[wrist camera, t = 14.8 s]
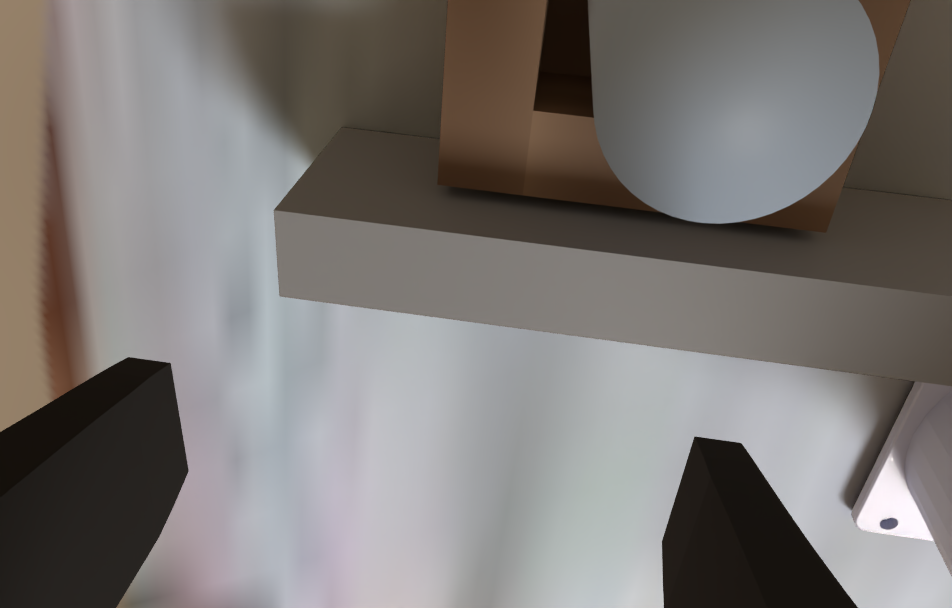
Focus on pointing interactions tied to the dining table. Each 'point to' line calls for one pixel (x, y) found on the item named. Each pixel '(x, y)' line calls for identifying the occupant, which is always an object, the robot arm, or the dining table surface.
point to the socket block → (564, 107)
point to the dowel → (729, 99)
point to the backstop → (622, 265)
